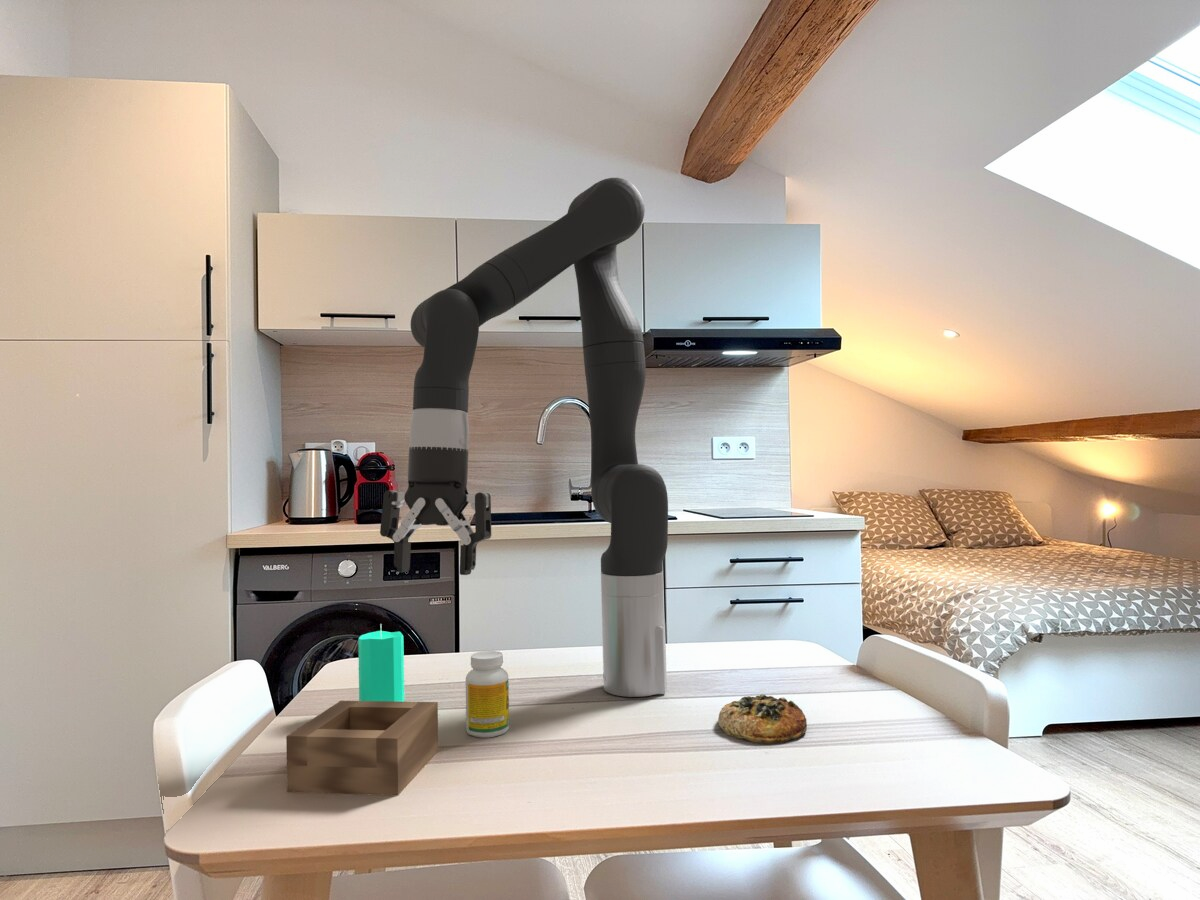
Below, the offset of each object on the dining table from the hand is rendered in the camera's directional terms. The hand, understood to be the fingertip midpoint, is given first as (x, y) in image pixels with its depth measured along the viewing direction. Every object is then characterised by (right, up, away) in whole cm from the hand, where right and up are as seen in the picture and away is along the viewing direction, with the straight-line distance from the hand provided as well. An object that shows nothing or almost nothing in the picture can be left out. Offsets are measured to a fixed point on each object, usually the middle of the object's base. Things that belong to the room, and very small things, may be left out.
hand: (433, 573), depth 95 cm
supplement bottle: (+7, -20, -1) cm, 21 cm away
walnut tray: (-4, -20, -13) cm, 24 cm away
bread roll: (+41, -19, -3) cm, 46 cm away
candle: (-9, -21, +8) cm, 24 cm away
